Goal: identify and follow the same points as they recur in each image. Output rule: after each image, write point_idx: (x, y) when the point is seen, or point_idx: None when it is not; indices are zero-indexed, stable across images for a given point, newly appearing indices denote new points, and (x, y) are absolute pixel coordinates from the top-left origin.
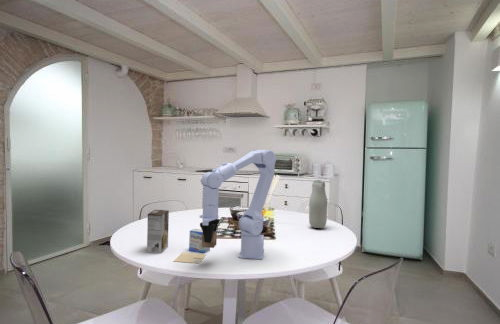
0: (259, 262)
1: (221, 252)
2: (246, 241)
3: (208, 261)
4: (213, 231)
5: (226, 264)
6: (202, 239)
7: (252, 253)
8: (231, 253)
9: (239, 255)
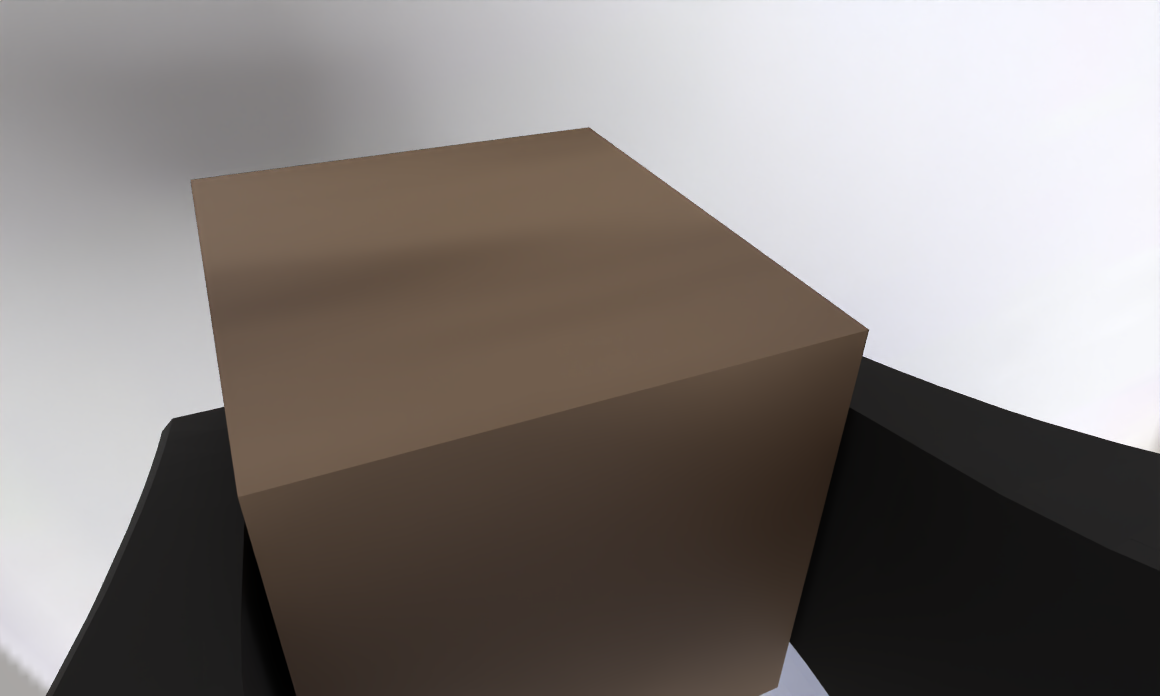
0: None
1: (858, 157)
2: (795, 687)
3: (425, 104)
4: (757, 632)
5: None
6: (218, 338)
7: None
8: None
9: None
